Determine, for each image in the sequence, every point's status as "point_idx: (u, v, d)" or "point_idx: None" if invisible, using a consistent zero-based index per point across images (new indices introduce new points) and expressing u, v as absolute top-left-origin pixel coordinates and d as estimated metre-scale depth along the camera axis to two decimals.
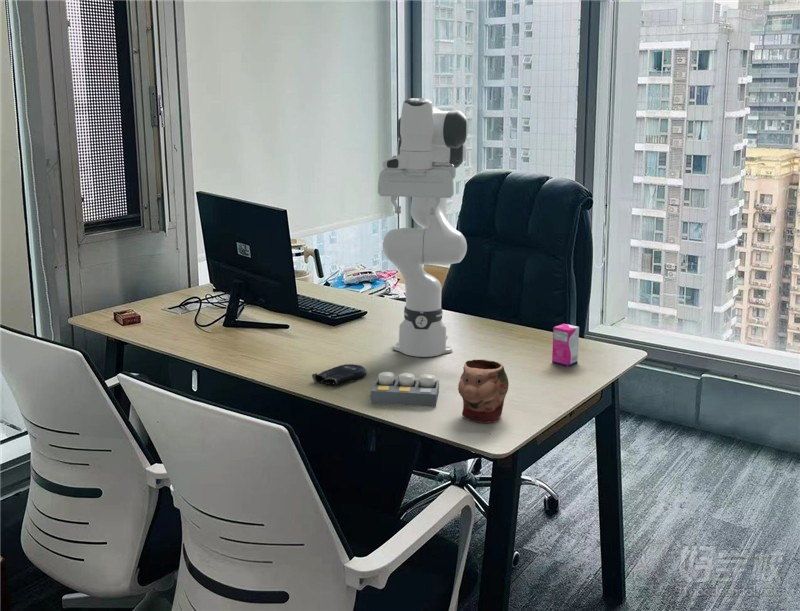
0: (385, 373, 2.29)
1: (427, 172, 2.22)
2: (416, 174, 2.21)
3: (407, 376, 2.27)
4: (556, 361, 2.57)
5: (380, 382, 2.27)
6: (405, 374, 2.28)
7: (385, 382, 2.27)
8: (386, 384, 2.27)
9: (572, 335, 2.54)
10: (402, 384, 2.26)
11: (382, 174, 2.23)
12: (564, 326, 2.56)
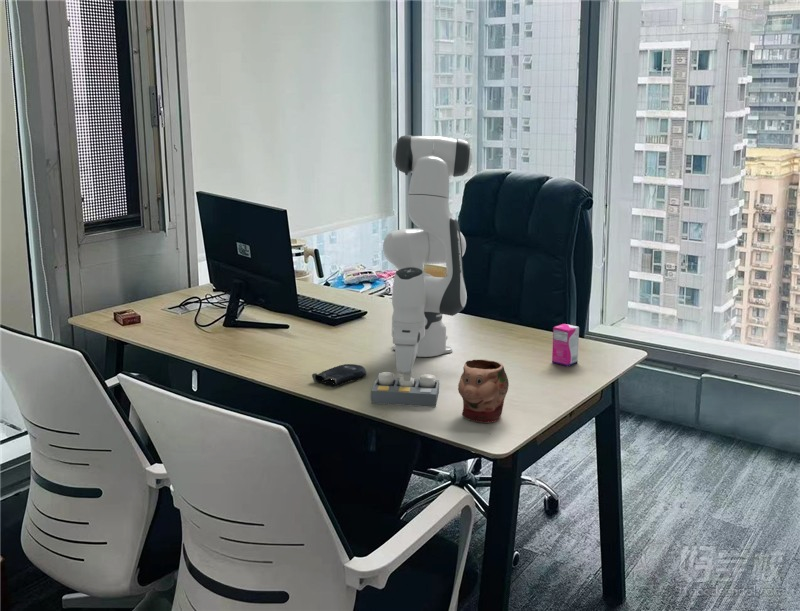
0: (385, 373, 2.29)
1: None
2: None
3: None
4: (556, 361, 2.57)
5: (380, 382, 2.27)
6: None
7: (385, 382, 2.27)
8: (386, 384, 2.27)
9: (572, 335, 2.54)
10: None
11: (414, 351, 2.16)
12: (564, 326, 2.56)
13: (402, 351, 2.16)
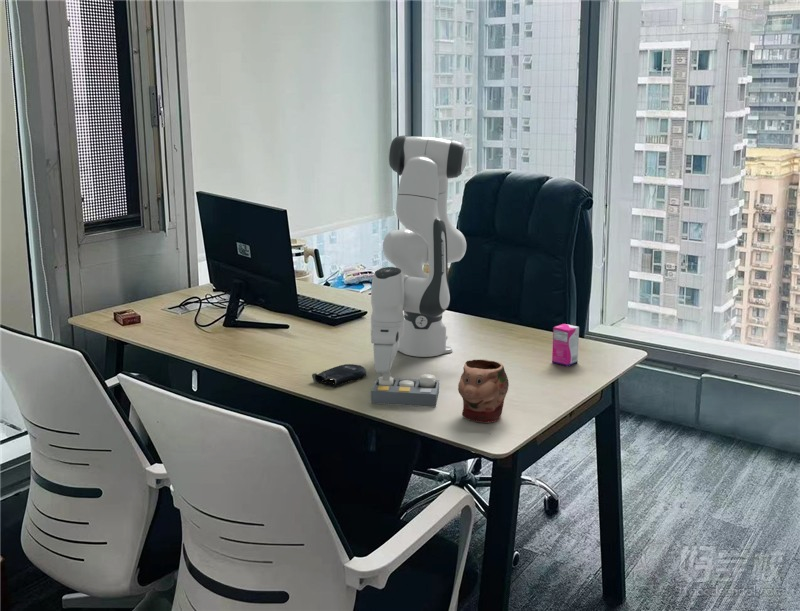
0: None
1: None
2: None
3: (407, 384, 2.27)
4: (556, 361, 2.57)
5: None
6: (405, 381, 2.29)
7: (385, 385, 2.27)
8: None
9: (572, 335, 2.54)
10: None
11: (392, 350, 2.17)
12: (564, 326, 2.56)
13: (380, 350, 2.17)
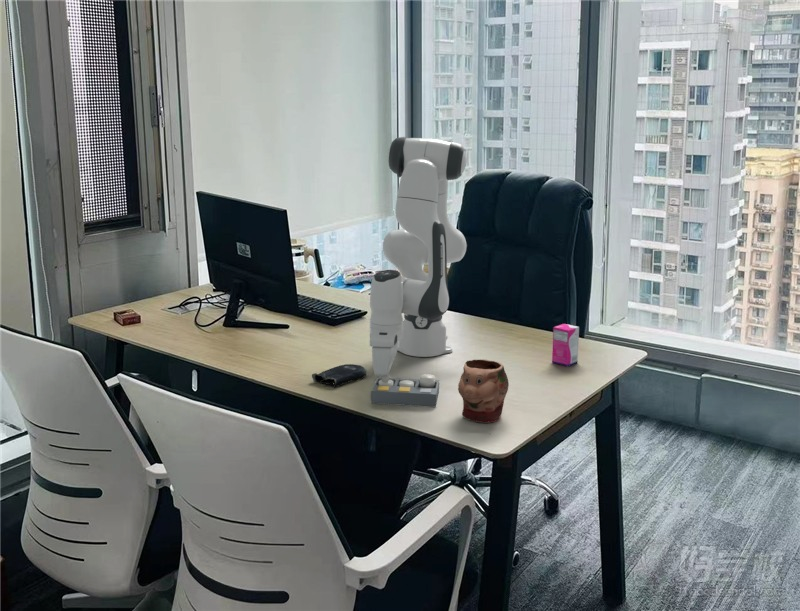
0: None
1: None
2: (397, 342, 2.26)
3: (407, 384, 2.27)
4: (556, 361, 2.57)
5: None
6: (405, 381, 2.29)
7: None
8: None
9: (572, 335, 2.54)
10: None
11: (390, 353, 2.17)
12: (564, 326, 2.56)
13: (379, 353, 2.17)
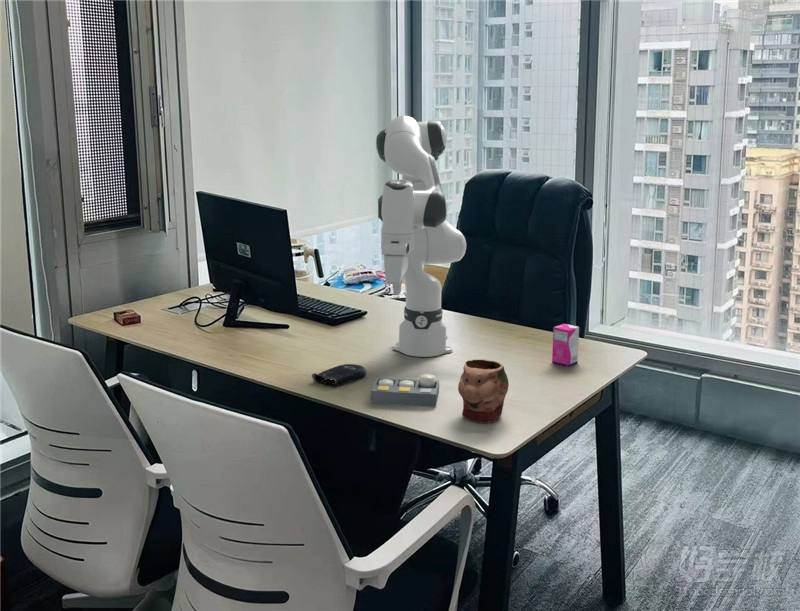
0: (385, 380, 2.29)
1: None
2: (409, 254, 2.25)
3: (407, 384, 2.27)
4: (556, 361, 2.57)
5: None
6: (405, 381, 2.29)
7: None
8: None
9: (572, 335, 2.54)
10: None
11: (403, 261, 2.16)
12: (564, 326, 2.56)
13: (391, 261, 2.16)
